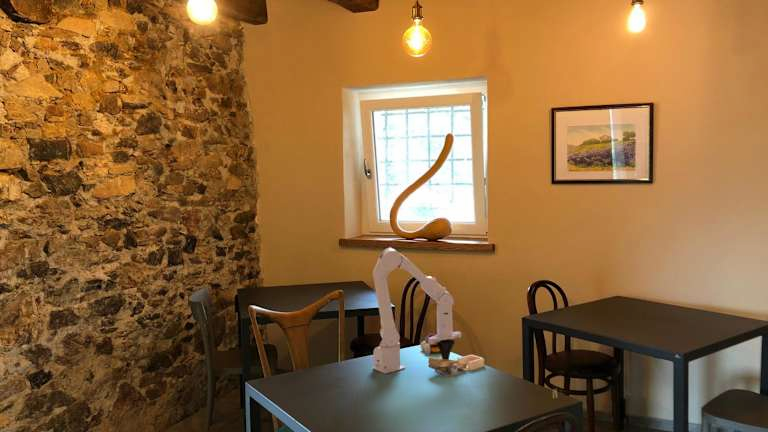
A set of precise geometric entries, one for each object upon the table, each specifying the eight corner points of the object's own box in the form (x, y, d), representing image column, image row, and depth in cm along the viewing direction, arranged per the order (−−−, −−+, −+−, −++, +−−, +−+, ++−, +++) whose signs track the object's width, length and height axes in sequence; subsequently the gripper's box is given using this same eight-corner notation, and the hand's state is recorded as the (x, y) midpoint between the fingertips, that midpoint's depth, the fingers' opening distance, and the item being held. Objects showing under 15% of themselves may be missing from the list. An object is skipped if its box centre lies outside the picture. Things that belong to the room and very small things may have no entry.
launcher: (436, 370, 215) (438, 360, 215) (414, 362, 225) (416, 352, 225) (465, 372, 223) (467, 363, 223) (443, 364, 233) (444, 355, 233)
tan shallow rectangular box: (465, 371, 222) (465, 363, 222) (453, 367, 227) (453, 359, 227) (484, 366, 227) (484, 358, 227) (472, 362, 233) (472, 354, 232)
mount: (450, 377, 216) (450, 366, 216) (434, 371, 223) (434, 360, 223) (461, 374, 219) (460, 363, 219) (445, 368, 226) (444, 358, 226)
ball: (473, 365, 226) (474, 356, 226) (467, 363, 229) (468, 354, 229) (479, 365, 228) (480, 356, 228) (473, 363, 231) (474, 354, 231)
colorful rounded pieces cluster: (427, 355, 243) (426, 337, 242) (419, 349, 252) (418, 331, 252) (447, 353, 245) (446, 335, 245) (438, 347, 254) (438, 330, 254)
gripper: (436, 328, 221) (437, 365, 222) (466, 322, 230) (467, 358, 231) (424, 325, 227) (425, 361, 228) (453, 318, 236) (454, 353, 236)
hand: (445, 359), depth 230 cm, fingers closed
